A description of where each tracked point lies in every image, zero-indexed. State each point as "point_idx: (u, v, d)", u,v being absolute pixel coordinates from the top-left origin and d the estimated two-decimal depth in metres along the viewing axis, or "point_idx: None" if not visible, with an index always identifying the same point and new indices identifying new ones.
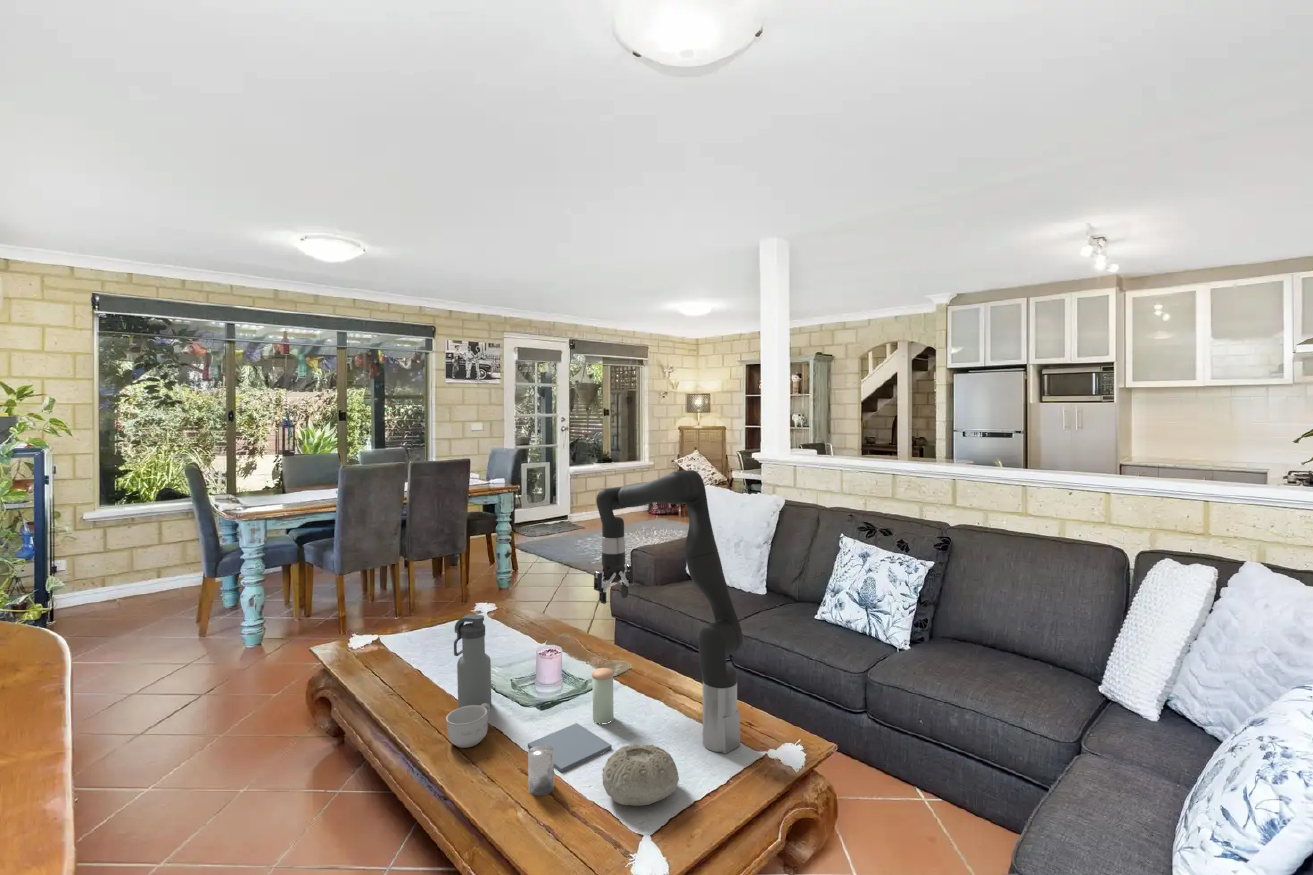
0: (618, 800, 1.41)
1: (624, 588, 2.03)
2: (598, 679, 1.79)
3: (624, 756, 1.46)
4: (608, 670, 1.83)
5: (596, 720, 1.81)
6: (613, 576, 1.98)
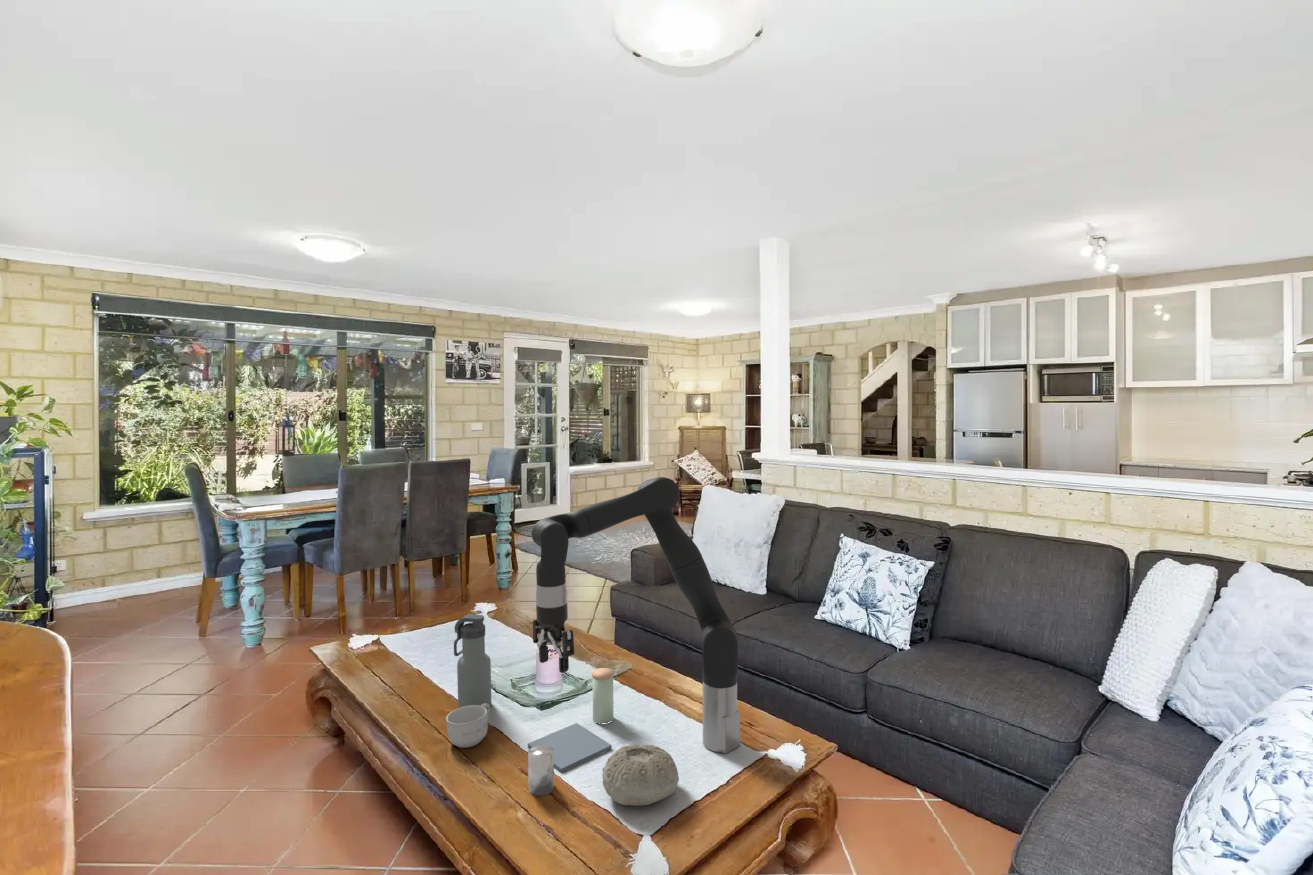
0: (618, 800, 1.41)
1: (545, 649, 1.57)
2: (598, 679, 1.79)
3: (624, 756, 1.46)
4: (608, 671, 1.83)
5: (596, 720, 1.81)
6: None
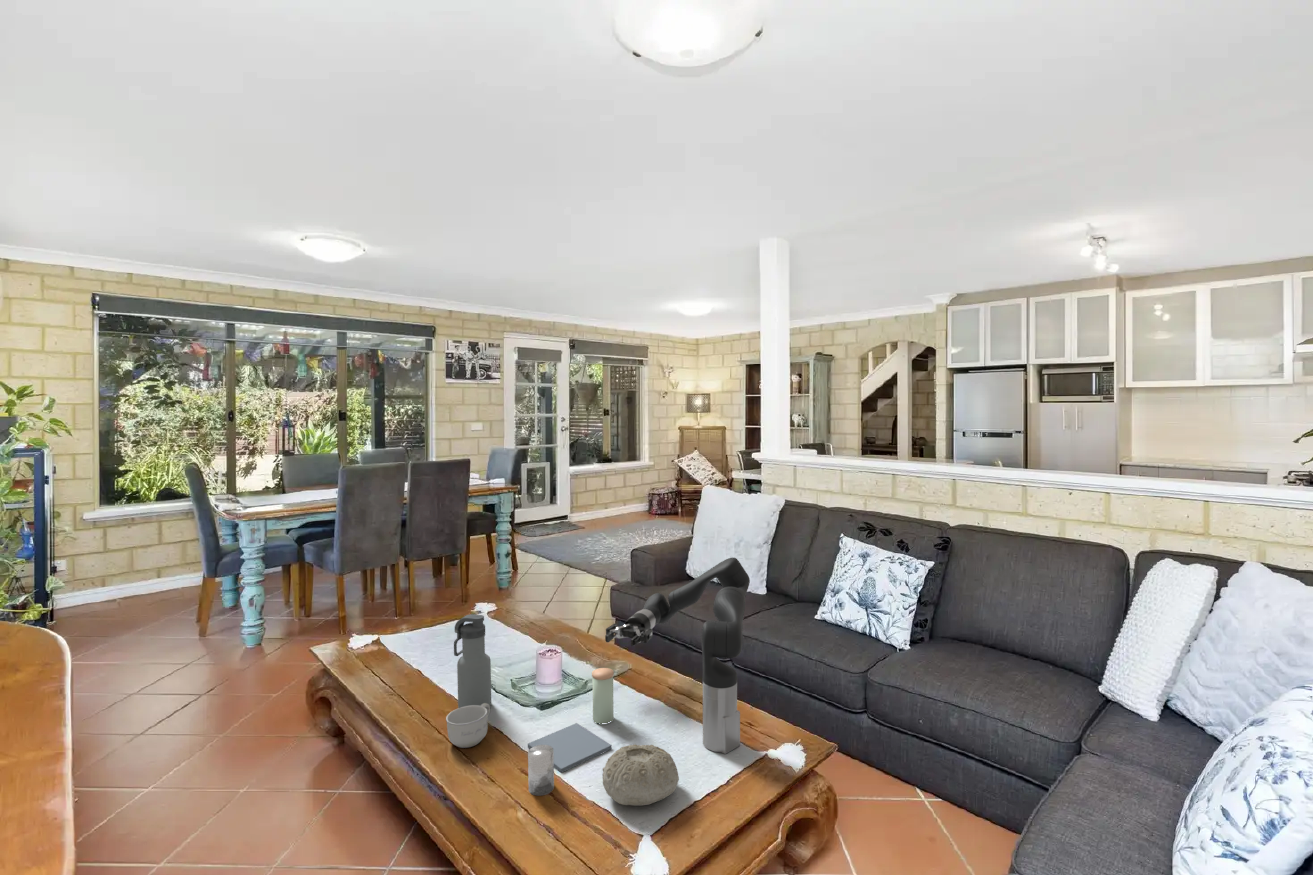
0: (618, 800, 1.41)
1: (612, 637, 1.97)
2: (598, 679, 1.79)
3: (625, 756, 1.46)
4: (608, 671, 1.83)
5: (596, 720, 1.81)
6: None
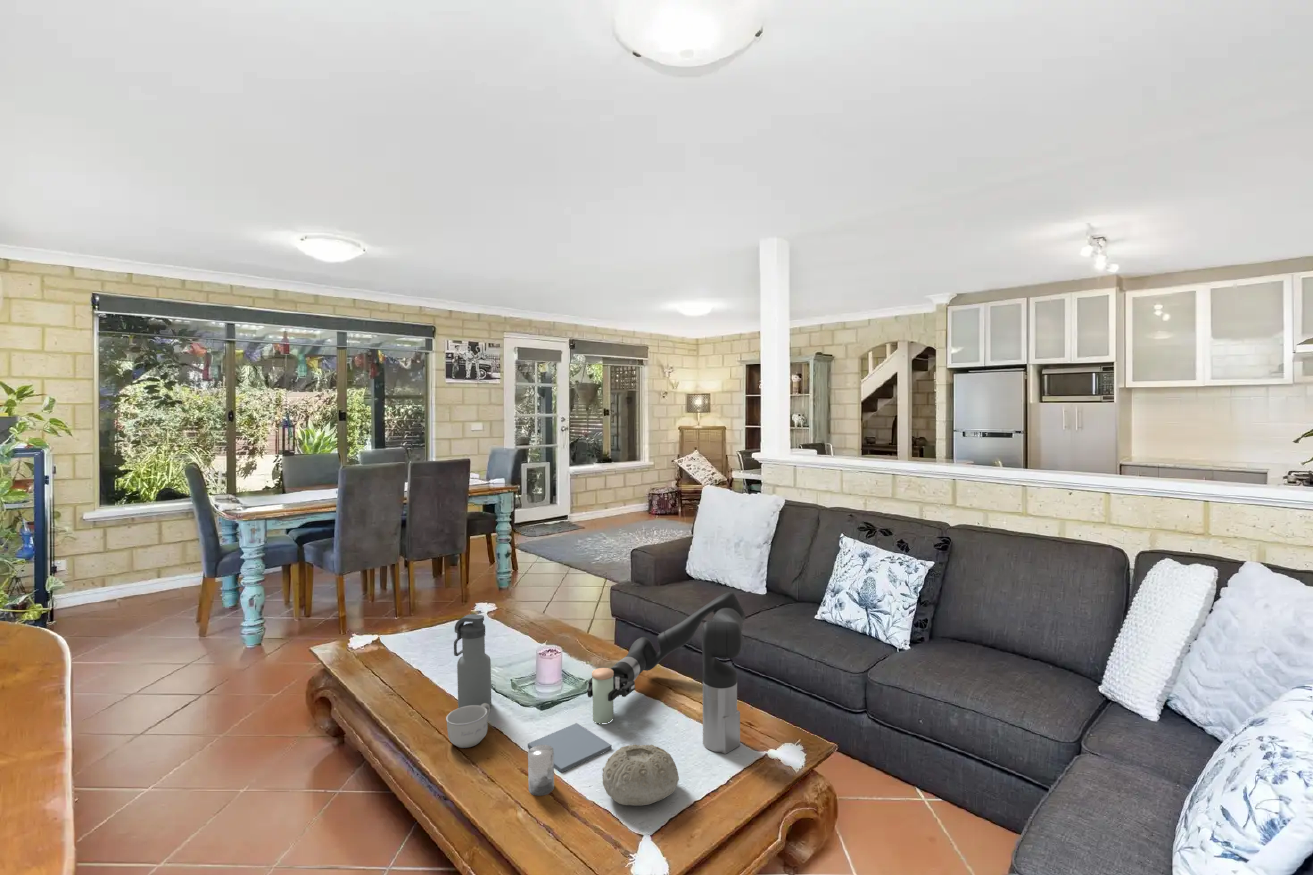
0: (618, 800, 1.41)
1: None
2: (598, 679, 1.79)
3: (624, 756, 1.46)
4: (607, 670, 1.83)
5: (596, 720, 1.81)
6: None
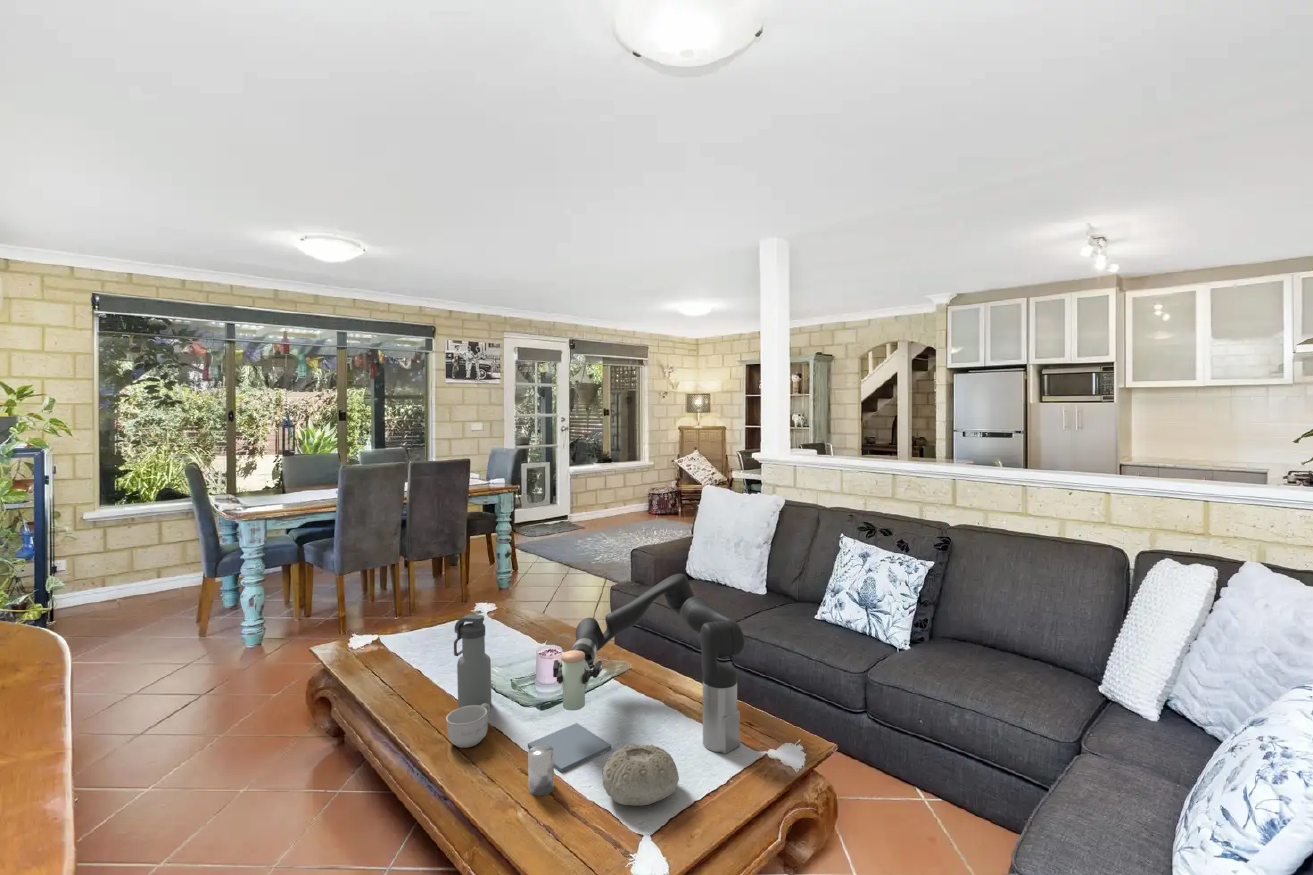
0: (618, 800, 1.41)
1: None
2: (571, 662, 1.67)
3: (624, 756, 1.46)
4: (577, 652, 1.72)
5: (569, 706, 1.68)
6: None
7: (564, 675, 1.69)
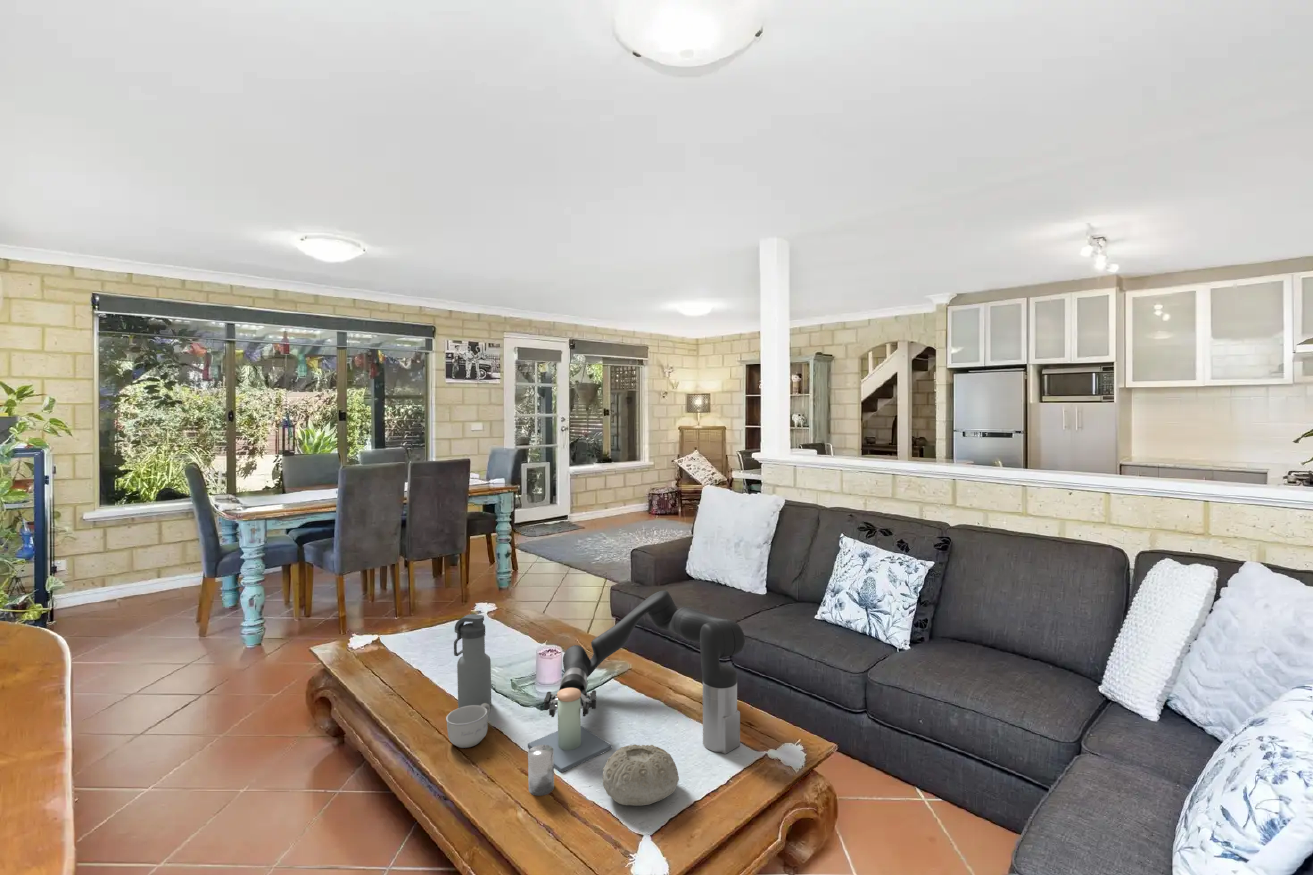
0: (618, 800, 1.41)
1: (555, 709, 1.68)
2: (568, 701, 1.64)
3: (624, 756, 1.46)
4: (573, 690, 1.68)
5: (565, 746, 1.65)
6: None
7: (560, 714, 1.65)
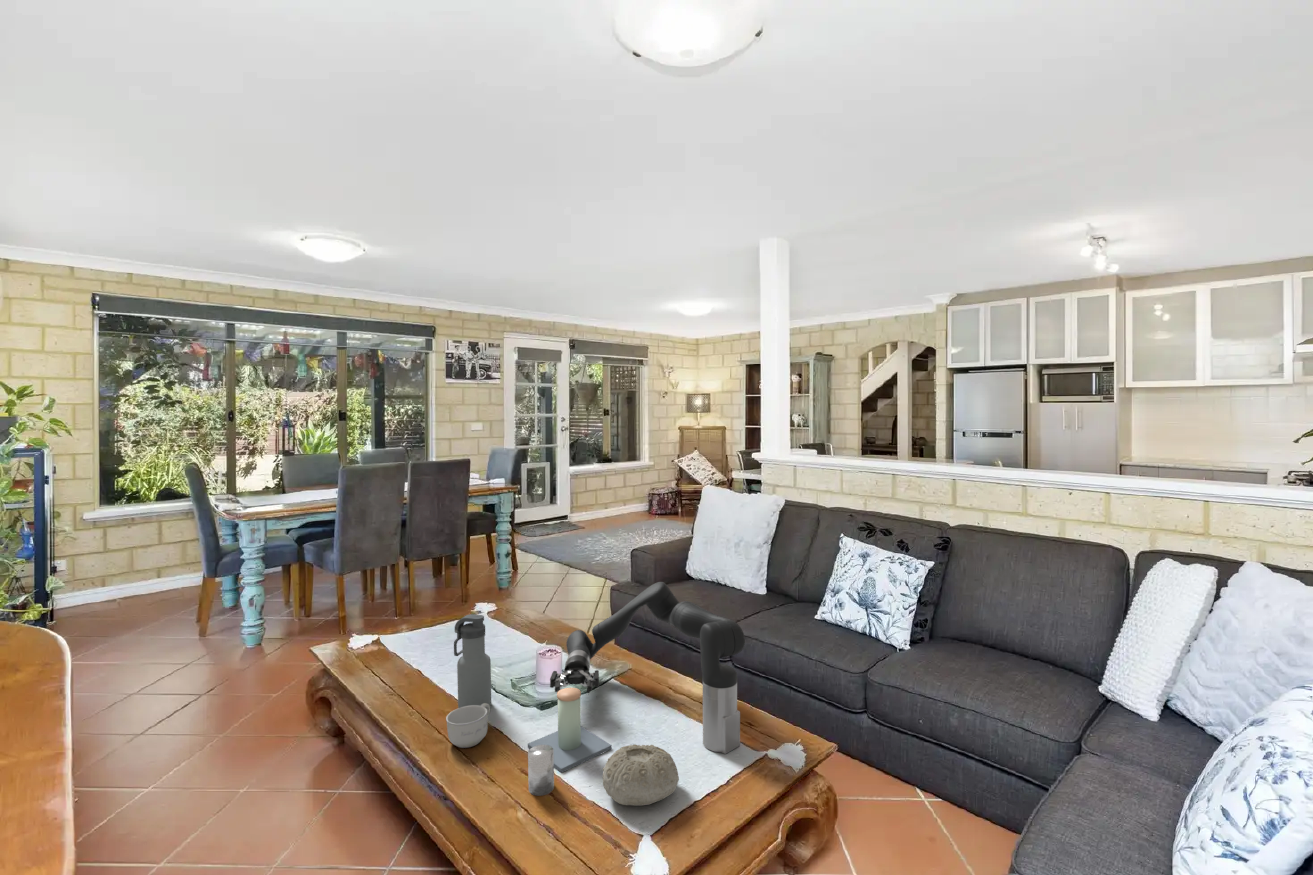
0: (618, 800, 1.41)
1: (560, 687, 1.81)
2: (568, 701, 1.64)
3: (624, 756, 1.46)
4: (573, 690, 1.69)
5: (565, 746, 1.65)
6: None
7: (560, 714, 1.65)
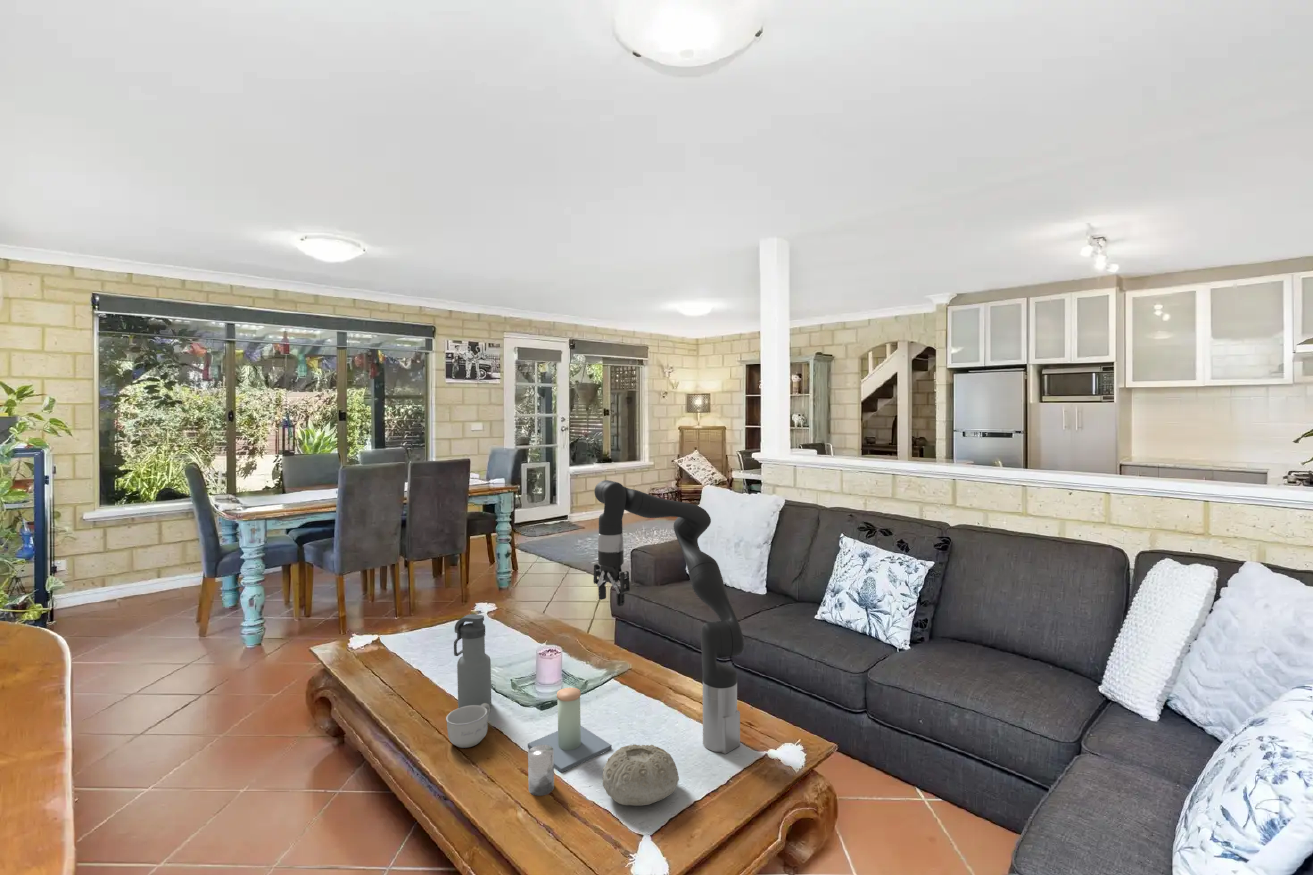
0: (618, 800, 1.41)
1: None
2: (568, 701, 1.64)
3: (624, 756, 1.46)
4: (572, 690, 1.69)
5: (565, 746, 1.65)
6: (602, 574, 1.86)
7: (560, 714, 1.65)
